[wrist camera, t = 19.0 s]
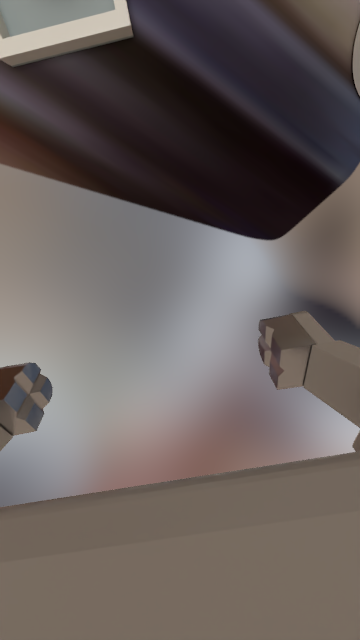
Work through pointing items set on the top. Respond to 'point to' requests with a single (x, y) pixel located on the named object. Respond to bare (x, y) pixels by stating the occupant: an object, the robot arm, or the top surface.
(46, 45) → the tray
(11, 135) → the top surface
